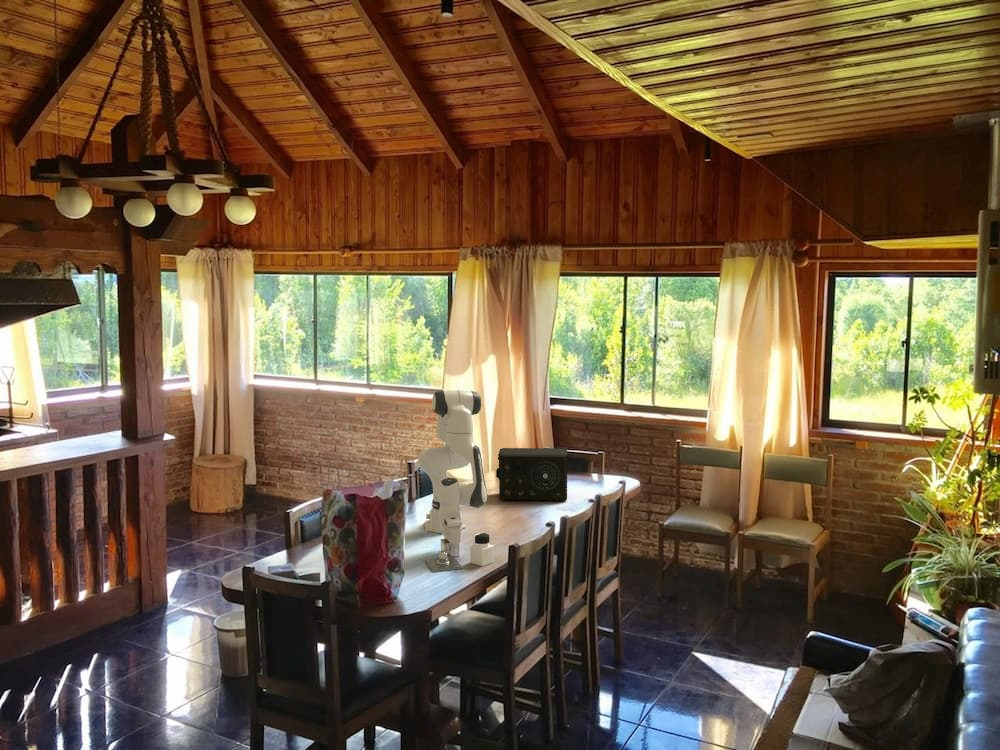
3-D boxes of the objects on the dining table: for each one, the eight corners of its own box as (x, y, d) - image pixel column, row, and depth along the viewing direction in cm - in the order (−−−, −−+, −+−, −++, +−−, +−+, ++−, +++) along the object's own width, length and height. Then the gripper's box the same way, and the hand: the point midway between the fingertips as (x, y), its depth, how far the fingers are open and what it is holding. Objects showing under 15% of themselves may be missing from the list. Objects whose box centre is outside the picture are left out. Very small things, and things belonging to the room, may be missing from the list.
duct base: (424, 561, 359) (424, 548, 358) (453, 558, 362) (453, 545, 362) (432, 572, 346) (432, 559, 345) (461, 568, 349) (461, 555, 349)
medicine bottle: (494, 562, 357) (494, 533, 356) (482, 566, 352) (482, 537, 351) (481, 558, 362) (481, 530, 361) (469, 562, 357) (469, 534, 355)
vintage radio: (495, 502, 450) (494, 455, 447) (497, 493, 469) (497, 447, 467) (567, 503, 448) (568, 455, 445) (567, 494, 467) (567, 448, 464)
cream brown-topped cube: (440, 552, 369) (440, 539, 369) (455, 551, 371) (455, 537, 371) (444, 557, 363) (444, 543, 362) (459, 556, 365) (459, 542, 364)
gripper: (436, 511, 374) (437, 542, 376) (448, 524, 355) (448, 557, 356) (450, 510, 376) (451, 541, 378) (463, 523, 357) (463, 555, 358)
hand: (450, 549), depth 367 cm, fingers closed on cream brown-topped cube, 6 cm apart
